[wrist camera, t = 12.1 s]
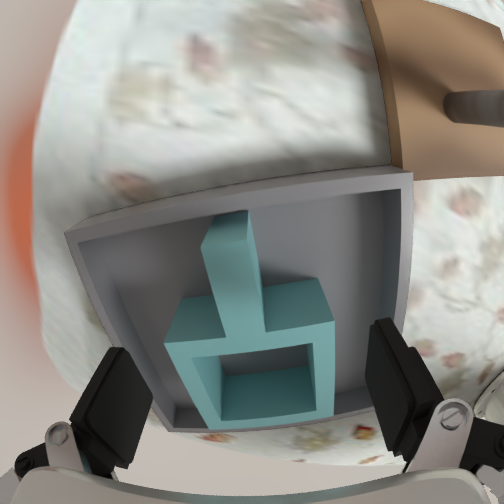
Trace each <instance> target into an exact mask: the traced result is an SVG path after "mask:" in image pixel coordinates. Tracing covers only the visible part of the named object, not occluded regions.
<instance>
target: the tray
mask: <svg viewBox="0 0 504 504" xmlns="http://www.w3.org/2000/svg"><path fill="white" fill-rule="evenodd" d="M245 211H249V215H250V221H251V226H252V231H253V236H254V241H255V246H256V252H257V257H258V262H259V267H260V272H261V278H262V283H263V287H267V286H274V285H280V284H286V283H292V282H298V281H304V280H310V279H315V278H318V279H319V282H320V284H321V287H322V289H323V292H324V294H325V297H326V299H327V302H328V305H329V307H330V310H331V313H332V315H333V318H334V320H335V391H334V416H331V417H326V418H321V419H316V420H310V421H304V422H297V423H290V424H282V425H274V426H264V427H253V428H239V429H216V430H209V428H208V426H207V425H206V423H205V421H204V419H203V418H202V416H201V414H200V413H199V411H198V409H197V407H196V405H195V404H194V402H193V400H192V398H191V396H190V395H189V393H188V391H187V389H186V387H185V385H184V383H183V381H182V379H181V378H180V376H179V374H178V372H177V370H176V368H175V366H174V364H173V362H172V360H171V357H170V355H169V353H168V351H167V349H166V347H165V345H164V341H165V338H166V336H167V333H168V331H169V328H170V325H171V323H172V320H173V318H174V315H175V313H176V310H177V308H178V305H179V303H180V300H181V299H184V298H191V297H199V296H206V295H213V291H212V288H211V284H210V281H209V277H208V274H207V270H206V266H205V263H204V259H203V256H202V252H201V248H200V247H201V245H202V242H203V240H204V238H205V236H206V234H207V231H208V229H209V227H210V225H211V223H212V221H213V218H214V217H217V216H223V215H228V214H234V213H239V212H245ZM413 219H414V188H413V172H410V171H407V170H404V169H401V168H398V167H395V166H391V165H379V166H367V167H357V168H347V169H337V170H328V171H320V172H312V173H304V174H296V175H289V176H282V177H275V178H269V179H262V180H256V181H250V182H244V183H238V184H233V185H227V186H222V187H216V188H211V189H206V190H201V191H196V192H191V193H186V194H181V195H177V196H172V197H167V198H163V199H159V200H154V201H150V202H146V203H141V204H137V205H133V206H129V207H125V208H121V209H117V210H113V211H110V212H106V213H102V214H98V215H95V216H91V217H88V218H86V219H85V220H83V221H81V222H80V223H78V224H77V225H75V226H73V227H72V228H70V229H69V230H67V231H66V232H64V235H65V237H66V240H67V243H68V246H69V249H70V252H71V254H72V257H73V260H74V262H75V265H76V267H77V270H78V272H79V275H80V277H81V280H82V282H83V284H84V287H85V289H86V291H87V294H88V296H89V298H90V300H91V303H92V305H93V307H94V309H95V311H96V313H97V315H98V317H99V319H100V321H101V323H102V325H103V327H104V329H105V331H106V333H107V335H108V337H109V339H110V341H111V343H112V345H113V346H114V347H123V348H125V349H126V351H128V352H129V353H130V355H131V357H132V359H133V360H134V362H135V364H136V366H137V368H138V370H139V371H140V373H141V375H142V377H143V378H144V380H145V382H146V383H147V385H148V387H149V389H150V390H151V392H152V394H153V402H152V404H151V408H152V410H153V411H154V413H155V414H156V415H157V417H158V418H159V420H160V421H161V422H162V424H163V425H164V426H165V428H166V429H167V430H168V432H189V433H220V432H244V431H258V430H269V429H279V428H287V427H295V426H302V425H308V424H315V423H320V422H326V421H331V420H336V419H341V418H346V417H350V416H354V415H359V414H363V413H367V412H371V411H374V410H375V408H374V405H373V402H372V399H371V396H370V393H369V390H368V387H367V384H366V381H365V368H366V360H367V351H368V341H369V330H370V325H373V324H374V322H375V320H378V319H383V318H387V317H390V318H391V319H392V321H393V322H394V324H395V325H396V327H397V329H398V331H399V332H400V334H401V336H402V331H403V325H404V319H405V313H406V306H407V298H408V290H409V282H410V272H411V260H412V245H413ZM218 357H219V360H220V362H221V365H222V368H223V371H224V373H225V376H234V375H244V374H254V373H262V372H270V371H277V370H284V369H291V368H297V367H303V366H308V359H307V348H306V344H302V345H296V346H289V347H283V348H276V349H269V350H262V351H254V352H246V353H237V354H228V355H218Z"/></svg>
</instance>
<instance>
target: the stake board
mask: <svg viewBox="0 0 504 504" xmlns="http://www.w3.org/2000/svg"><path fill="white" fill-rule="evenodd" d="M361 3H362V6H363V9H364V13H365V16H366V19H367V23H368V26H369V30H370V34H371V38H372V41H373V46H374V50H375V54H376V58H377V63H378V68H379V73H380V78H381V83H382V88H383V94H384V100H385V107H386V114H387V121H388V130H389V139H390V149H391V161H392V166H395V167H398V168H401V169H404V170H407V171H410V172H413V181H417V180H430V179H445V178H462V177H484V176H504V40H503V37H502V33H501V30H500V28H499V27H497V26H495V25H493V24H490V23H488V22H486V21H483V20H481V19H478V18H476V17H473V16H471V15H468V14H465V13H463V12H460V11H457V10H454V9H451V8H448V7H444V6H441V5H438V4H434V3H430V2H427V1H423V0H361Z"/></svg>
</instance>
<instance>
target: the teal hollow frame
mask: <svg viewBox="0 0 504 504" xmlns="http://www.w3.org/2000/svg"><path fill="white" fill-rule="evenodd" d="M200 248H201V252H202V256H203V259H204V263H205V266H206V270H207V274H208V277H209V281H210V284H211V288H212V291H213V295H206V296H199V297H191V298H184V299H181V300H180V303H179V305H178V308H177V310H176V313H175V315H174V318H173V320H172V323H171V325H170V328H169V331H168V333H167V336H166V338H165V341H164V345H165V347H166V349H167V351H168V353H169V355H170V357H171V360H172V362H173V364H174V366H175V368H176V370H177V372H178V374H179V376H180V378H181V379H182V381H183V383H184V385H185V387H186V389H187V391H188V393H189V395H190V396H191V398H192V400H193V402H194V404H195V405H196V407H197V409H198V411H199V413H200V414H201V416H202V418H203V419H204V421H205V423H206V425H207V426H208V428H209V430H216V429H239V428H253V427H264V426H274V425H282V424H290V423H297V422H304V421H310V420H316V419H321V418H326V417H331V416H334V391H335V320H334V318H333V315H332V313H331V310H330V307H329V305H328V302H327V299H326V297H325V294H324V292H323V289H322V287H321V284H320V282H319V279H318V278H315V279H310V280H304V281H298V282H292V283H286V284H280V285H274V286H267V287H263V283H262V278H261V272H260V267H259V262H258V257H257V252H256V246H255V241H254V236H253V231H252V226H251V221H250V215H249V211H245V212H239V213H234V214H228V215H223V216H217V217H214V218H213V221H212V223H211V225H210V227H209V229H208V231H207V234H206V236H205V238H204V240H203V242H202V245H201V247H200ZM302 344H306V348H307V359H308V366H303V367H297V368H291V369H284V370H277V371H270V372H262V373H254V374H244V375H234V376H225V373H224V371H223V368H222V365H221V362H220V360H219V357H218V355H228V354H237V353H246V352H254V351H262V350H269V349H276V348H283V347H289V346H296V345H302Z"/></svg>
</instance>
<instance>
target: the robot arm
mask: <svg viewBox="0 0 504 504" xmlns="http://www.w3.org/2000/svg"><path fill="white" fill-rule="evenodd" d="M365 381H366V384H367V387H368V390H369V393H370V396H371V399H372V402H373V405H374V408H375V411H376V414H377V418H378V421H379V424H380V427H381V430H382V434H383V437H384V440H385V444H386V447H387V450H388V451H393V454H394V457H396V456H399V455H402V456H403V459H404V461H406V463H405V465H404V468H403V469H402V471H401V473H400V474H397V475H394V476H390V477H385V478H381V479H377V480H373V481H368V482H364V483H360V484H355V485H350V486H345V487H340V488H333V489H327V490H322V491H314V492H307V493H298V494H287V495H273V496H213V495H199V494H188V493H180V492H171V491H165V490H159V489H153V488H147V487H142V486H137V485H132V484H128V483H124V482H119V480H118V478H117V476H116V474H115V472H114V467H115V466H116V467H120V468H124V469H128V466H129V464H130V463H132V461H133V459H134V455H135V452H136V449H137V446H138V443H139V440H140V436H141V434H142V431H143V428H144V425H145V422H146V419H147V416H148V413H149V410H150V407H151V404H152V402H153V394H152V392H151V390H150V389H149V387H148V385H147V383H146V382H145V380H144V378H143V377H142V375H141V373H140V371H139V370H138V368H137V366H136V364H135V362H134V360H133V359H132V357H131V355H130V353H129V352H128V351H126V349H125V348H123V347H110V348H109V349H108V351H107V353H106V354H105V356H104V358H103V359H102V361H101V363H100V364H99V366H98V368H97V369H96V371H95V373H94V375H93V376H92V378H91V380H90V382H89V383H88V385H87V387H86V389H85V390H84V392H83V394H82V396H81V398H80V400H79V401H78V403H77V405H76V407H75V409H74V411H73V413H72V414H71V416H70V418H69V420H70V421H71V422H72V423H71V425H69V424H68V423H66V422H57V423H55V424H53V425H51V426H50V427H49V428H48V430H47V432H46V434H45V443H42V444H40V445H38V446H36V447H34V448H32V449H30V450H27V451H25V452H23V453H21V454H20V455H19V456H18V457H17V459H16V461H15V469H13V468H11V469H10V470H9V471H8V472H6V473H5V474H4V475H3V476H2V477H0V504H491V502H490V500H489V498H488V495H487V493H486V491H485V489H484V487H483V485H486V486H488V487H489V488H490V489H491V491H490V492H491V493H493V494H494V495H495V496H496V497H497V498H498V502H499V504H504V371H503V372H502V373H501V374H500V375H499V376H498V377H497V378H496V379H495V380H494V381H493V382H492V383H491V384H490V385H489V387H488V388H487V389H486V390H485V391H484V393H483V394H482V395H481V396H480V398H479V399H478V401H477V403H476V405H475V407H474V413H475V415H476V417H478V418H476V417H473V415H474V414H473V411H472V408H471V407H470V405H469V404H468V403H467V402H465V401H464V400H461V399H457V398H451V399H446V400H444V398H443V396H442V394H441V392H440V390H439V389H438V387H437V385H436V383H435V381H434V379H433V377H432V376H431V374H430V372H429V370H428V369H427V367H426V365H425V363H424V361H423V360H422V358H421V356H420V355H419V353H418V351H417V350H416V348H414V347H409V348H408V346H407V344H406V343H405V341H404V339H403V337H402V336H401V334H400V332H399V331H398V329H397V327H396V325H395V324H394V322H393V321H392V319H391V318H390V317H387V318H383V319H378V320H375V322H374V324H373V325H370V330H369V341H368V351H367V360H366V368H365ZM479 417H485V419H486V420H483V419H480V418H479Z"/></svg>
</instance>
